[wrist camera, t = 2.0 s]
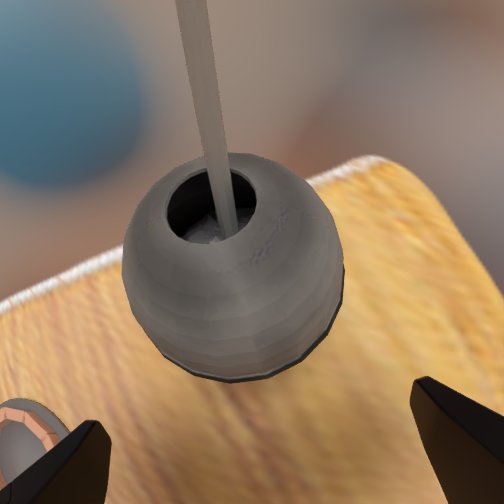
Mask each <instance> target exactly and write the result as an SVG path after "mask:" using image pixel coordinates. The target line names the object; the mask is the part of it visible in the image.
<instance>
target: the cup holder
mask: <svg viewBox="0 0 504 504" xmlns="http://www.w3.org/2000/svg"><path fill="white" fill-rule="evenodd" d="M68 434H70V432H69V430H68V429H67V428H66V426H65V425H64V424H63V423H62V422H61V420H60V419H59V418H58V417H57V416H56V415H55V414H54V413H52V412H51V411H50V410H49V409H47V408H46V407H44V406H43V405H41V404H39V403H37V402H34V401H31V400H27V399H17V398H16V399H10V400H8V401H5V402H4V403H2V404H1V405H0V490H1V489H2V488H4V487H5V486H6V485H7V484H9V483H10V482H12V481H13V480H14V479H15V478H16V477H17V476H19V475H20V474H21V473H22V472H24V471H25V470H26V469H27V468H28V467H30V466H31V465H32V464H33V463H35V462H36V461H37V460H38V459H39V458H41V457H42V456H43V455H44V454H46V453H47V452H48V451H49V450H50V449H52V448H53V447H54V446H55V445H56V444H58V443H59V442H60V441H61V440H62V439H64V438H65V437H66V436H67V435H68Z"/></svg>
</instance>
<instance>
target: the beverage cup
mask: <svg viewBox="0 0 504 504" xmlns="http://www.w3.org/2000/svg"><path fill="white" fill-rule="evenodd" d="M175 3H176V9H177V14H178V20H179V25H180V32H181V37H182V42H183V48H184V54H185V59H186V65H187V69H188V75H189V81H190V86H191V91H192V96H193V101H194V106H195V111H196V117H197V122H198V127H199V132H200V136H201V142H202V146H203V151H204V156H203V157H198V158H196V159H194V160H192V161H189V162H187V163H185V164H183V165H180V166H178V167H176V168H174V169H173V170H172V171H170V172H169V173H168V174H166V175H165V176H164V177H162V178H161V179H160V180H159V181H157V182H156V183H155V184H154V185H153V186H152V187H151V189H150V190H149V191H148V192H147V194H146V195H145V196H144V198H143V199H142V200H141V201H140V203H139V204H138V206H137V208H136V209H135V212H134V214H133V217H132V219H131V221H130V224H129V227H128V229H127V231H126V234H125V237H124V245H123V260H122V278H123V283H124V286H125V290H126V293H127V297H128V300H129V303H130V307H131V310H132V313H133V315H134V317H135V318H136V320H137V321H138V323H139V324H140V325H141V327H142V328H143V330H144V331H145V333H146V334H147V336H148V337H149V338H150V339H151V341H152V342H153V343H154V345H155V346H156V347H157V348H158V350H159V351H160V352H161V353H162V355H163V356H164V357H165V358H166V359H168V360H169V361H171V362H172V363H174V364H176V365H177V366H179V367H180V368H182V369H184V370H185V371H187V372H189V373H190V374H192V375H194V376H197V377H201V378H206V379H210V380H215V381H220V382H225V383H239V382H247V381H255V380H262V379H268V378H270V377H272V376H274V375H276V374H278V373H280V372H282V371H284V370H286V369H288V368H290V367H292V366H294V365H296V364H298V363H300V362H302V361H303V360H304V359H305V358H306V357H307V356H308V355H309V354H310V353H311V352H312V351H313V350H314V349H315V348H316V347H317V346H318V345H319V344H320V343H321V341H322V340H323V339H324V338H325V337H326V336H327V335H328V333H329V331H330V329H331V327H332V325H333V323H334V320H335V318H336V316H337V314H338V312H339V309H340V307H341V305H342V300H343V289H344V275H345V269H344V264H343V259H344V257H343V250H342V246H341V242H340V239H339V235H338V232H337V229H336V225H335V222H334V219H333V217H332V215H331V213H330V211H329V209H328V208H327V207H326V205H325V204H324V203H323V201H322V200H321V199H320V197H319V196H318V194H317V193H316V192H315V190H314V189H313V188H312V187H311V186H310V185H309V184H308V183H307V182H306V181H305V180H304V179H302V178H301V177H299V176H298V175H297V174H295V173H294V172H292V171H291V170H289V169H288V168H286V167H285V166H283V165H282V164H279V163H277V162H274V161H271V160H268V159H265V158H262V157H259V156H256V155H252V154H245V153H227V146H226V139H225V132H224V125H223V118H222V111H221V105H220V97H219V91H218V83H217V76H216V69H215V61H214V54H213V47H212V39H211V32H210V25H209V17H208V10H207V2H206V0H175Z"/></svg>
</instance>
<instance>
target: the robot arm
mask: <svg viewBox="0 0 504 504" xmlns="http://www.w3.org/2000/svg"><path fill="white" fill-rule="evenodd" d="M410 407H411V410H412V413H413V416H414V419H415V422H416V425H417V428H418V431H419V434H420V437H421V440H422V443H423V446H424V449H425V451H426V454H427V456H428V458H429V460H430V462H431V465H432V467H433V469H434V471H435V474H436V476H437V478H438V480H439V483H440V485H441V487H442V490H443V492H444V494H445V497H446V499H447V501H448V504H504V416H502V415H500V414H498V413H496V412H494V411H493V410H491V409H489V408H487V407H485V406H483V405H481V404H479V403H477V402H476V401H474V400H472V399H470V398H468V397H466V396H464V395H462V394H461V393H459V392H457V391H455V390H453V389H451V388H450V387H448V386H446V385H444V384H442V383H440V382H438V381H437V380H435V379H433V378H431V377H429V376H424V377H421V378H418V379H415V380H414V382H413V385H412V390H411V395H410ZM111 445H112V443H111V438H110V436H109V435H108V433H107V432H106V430H105V429H104V427H103V426H102V424H101V423H100V422H99V421H97V420H85V421H84V422H83V423H82V424H80V425H79V426H78V427H77V428H76V429H74V430H73V431H72V432H71V433H70V434H68V435H67V436H66V437H65V438H64V439H62V440H61V441H60V442H59V443H58V444H56V445H55V446H54V447H53V448H52V449H50V450H49V451H48V452H47V453H46V454H44V455H43V456H42V457H41V458H39V459H38V460H37V461H36V462H35V463H33V464H32V465H31V466H30V467H28V468H27V469H26V470H25V471H24V472H22V473H21V474H20V475H19V476H17V477H16V478H15V479H14V480H13V481H12V482H10V483H9V484H7V485H6V486H5V487H4V488H2V489H1V490H0V504H104V503H105V497H106V492H107V486H108V478H109V466H110V455H111Z"/></svg>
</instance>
